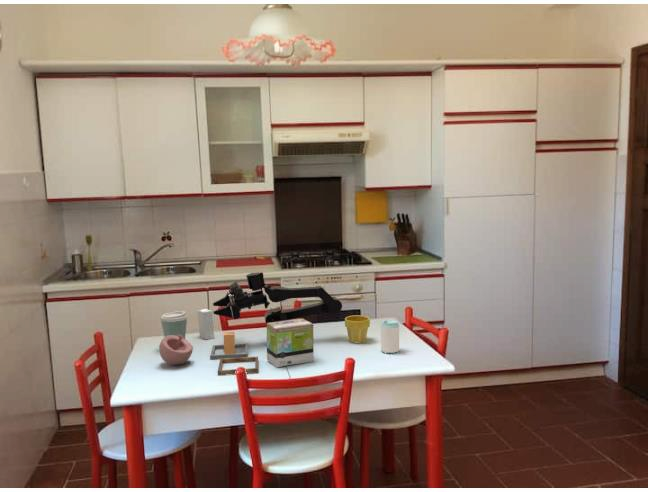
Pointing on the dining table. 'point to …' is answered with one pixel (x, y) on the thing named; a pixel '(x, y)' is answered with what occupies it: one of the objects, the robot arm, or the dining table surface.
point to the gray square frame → (213, 357)
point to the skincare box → (205, 324)
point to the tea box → (289, 342)
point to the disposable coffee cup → (174, 323)
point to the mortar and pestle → (175, 349)
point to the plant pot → (357, 327)
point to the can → (389, 336)
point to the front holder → (234, 360)
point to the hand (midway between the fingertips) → (213, 308)
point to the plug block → (229, 343)
